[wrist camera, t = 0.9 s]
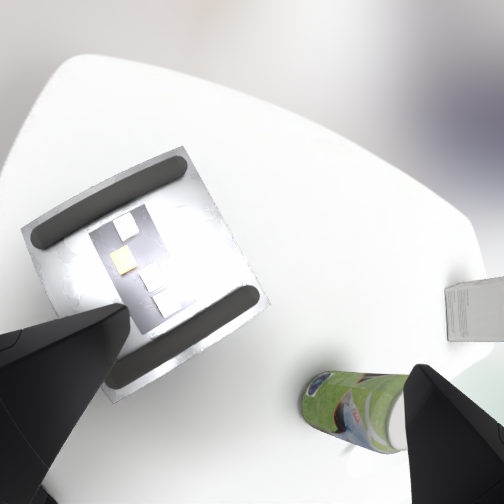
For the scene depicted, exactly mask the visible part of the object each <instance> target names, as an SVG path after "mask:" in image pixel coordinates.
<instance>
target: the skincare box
mask: <svg viewBox="0 0 504 504" xmlns="http://www.w3.org/2000/svg"><path fill="white" fill-rule="evenodd" d="M445 296H446V307H447V322H448V341H453V342H504V277H498V278H490V279H484V280H476V281H469V282H462V283H459V284H456V285H454V286H451V287H449V288H446V289H445Z"/></svg>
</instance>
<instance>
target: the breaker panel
mask: <svg viewBox="0 0 504 504" xmlns="http://www.w3.org/2000/svg"><path fill="white" fill-rule="evenodd" d="M173 156H181V157H183V158H184V159H185V160H186V161H187V164H188V168H187V171H186V173H185V174H184V175H183V176H181V177H179V178H176V179H174V180H172V181H170V182H168V183H165V184H163V185H161V186H159V187H157V188H155V189H153V190H150V191H148V192H146V193H144V194H142V195H140V196H138V197H136V198H134V199H132V200H130V201H128V202H126V203H124V204H122V205H120V206H118V207H116V208H114V209H113V210H111V211H109V212H107V213H105V214H103V215H101V216H99V217H98V218H96V219H94V220H92V221H90V222H89V223H87V224H85V225H83V226H81V227H80V228H78V229H76V230H74V231H73V232H71V233H69V234H68V235H66V236H64V237H62V238H61V239H59V240H57V241H56V242H54V243H52V244H51V245H49V246H48V247H46V248H44V249H37V248H35V247H34V246H33V245H32V243H31V240H30V235H31V232H32V230H33V229H34V228H35V227H36V226H38V225H40V224H41V223H43V222H44V221H46V220H48V219H49V218H51V217H53V216H54V215H56V214H58V213H60V212H61V211H63V210H65V209H66V208H68V207H70V206H72V205H74V204H75V203H77V202H79V201H81V200H83V199H84V198H86V197H88V196H90V195H92V194H94V193H96V192H98V191H100V190H102V189H103V188H105V187H107V186H109V185H111V184H113V183H115V182H117V181H120V180H122V179H124V178H126V177H128V176H130V175H132V174H134V173H136V172H138V171H141V170H143V169H145V168H147V167H150V166H152V165H154V164H156V163H159V162H161V161H163V160H166V159H168V158H170V157H173ZM21 231H22V234H23V237H24V240H25V243H26V245H27V248H28V251H29V253H30V256H31V258H32V261H33V263H34V266H35V268H36V271H37V273H38V275H39V278H40V280H41V282H42V284H43V287H44V289H45V291H46V293H47V295H48V297H49V299H50V301H51V303H52V306H53V308H54V310H55V311H56V313H57V315H58V317H59V319H60V318H64V317H67V316H71V315H74V314H78V313H81V312H85V311H88V310H92V309H95V308H99V307H102V306H106V305H109V304H113V303H120V304H123V305H126V306H128V307H129V311H130V326H131V329H130V334H129V336H128V338H127V340H126V342H125V344H124V345H123V347H122V349H121V351H120V353H119V355H118V357H117V359H116V361H115V363H114V364H116V363H117V362H119V361H121V360H123V359H124V358H126V357H128V356H129V355H131V354H133V353H135V352H136V351H138V350H140V349H141V348H143V347H145V346H146V345H148V344H150V343H151V342H153V341H155V340H156V339H158V338H160V337H161V336H163V335H165V334H166V333H168V332H170V331H171V330H173V329H175V328H176V327H178V326H180V325H181V324H183V323H185V322H186V321H188V320H189V319H191V318H193V317H194V316H196V315H198V314H199V313H201V312H202V311H204V310H206V309H207V308H209V307H211V306H212V305H214V304H215V303H217V302H219V301H220V300H222V299H223V298H225V297H227V296H228V295H230V294H231V293H233V292H235V291H236V290H238V289H239V288H241V287H243V286H245V285H252V286H254V287H256V288H257V289H258V291H259V293H260V299H259V302H258V303H257V304H256V305H255V306H253V307H252V308H250V309H249V310H247V311H246V312H244V313H243V314H241V315H240V316H238V317H237V318H235V319H234V320H232V321H231V322H229V323H228V324H226V325H225V326H223V327H221V328H220V329H218V330H217V331H215V332H214V333H212V334H210V335H209V336H207V337H206V338H204V339H203V340H201V341H199V342H198V343H196V344H195V345H193V346H191V347H190V348H188V349H187V350H185V351H183V352H182V353H180V354H178V355H177V356H175V357H174V358H172V359H170V360H169V361H167V362H165V363H164V364H162V365H160V366H159V367H157V368H155V369H154V370H152V371H150V372H149V373H147V374H145V375H144V376H142V377H140V378H138V379H137V380H135V381H133V382H132V383H130V384H128V385H126V386H125V387H123V388H121V389H118V390H114V389H111V388H109V387H108V386H107V385H106V384H105V382H104V381H103V383H102V384H101V388H102V389H103V391H104V392H105V393H106V395H107V396H108V398H109V399H110V400H111V402H112V403H113V404H114V403H116V402H118V401H120V400H121V399H123V398H125V397H127V396H128V395H130V394H132V393H134V392H135V391H137V390H139V389H140V388H142V387H144V386H146V385H147V384H149V383H151V382H152V381H154V380H156V379H157V378H159V377H161V376H162V375H164V374H166V373H167V372H169V371H171V370H172V369H174V368H176V367H177V366H179V365H181V364H182V363H184V362H185V361H187V360H189V359H190V358H192V357H193V356H195V355H197V354H198V353H200V352H201V351H203V350H205V349H206V348H208V347H209V346H211V345H212V344H214V343H215V342H217V341H219V340H220V339H222V338H223V337H225V336H226V335H228V334H229V333H231V332H232V331H234V330H235V329H237V328H238V327H240V326H241V325H243V324H244V323H246V322H247V321H249V320H250V319H252V318H253V317H255V316H256V315H258V314H259V313H261V312H262V311H264V310H265V309H267V308H268V307H269V306H271V303H270V301H269V299H268V298H267V296H266V294H265V292H264V291H263V289H262V287H261V285H260V284H259V282H258V280H257V278H256V276H255V275H254V273H253V271H252V269H251V268H250V266H249V264H248V262H247V260H246V259H245V257H244V255H243V253H242V251H241V250H240V248H239V246H238V244H237V242H236V241H235V239H234V237H233V235H232V234H231V232H230V230H229V228H228V226H227V225H226V223H225V221H224V219H223V217H222V216H221V214H220V212H219V210H218V208H217V207H216V205H215V203H214V201H213V199H212V198H211V196H210V194H209V192H208V190H207V188H206V187H205V185H204V183H203V181H202V179H201V178H200V176H199V174H198V172H197V170H196V169H195V167H194V165H193V163H192V161H191V159H190V158H189V156H188V154H187V152H186V150H185V148H184V147H183V146H181V147H179V148H176V149H174V150H171V151H169V152H166V153H164V154H161V155H159V156H157V157H154V158H152V159H150V160H147V161H145V162H143V163H141V164H138V165H136V166H134V167H132V168H130V169H128V170H125V171H123V172H121V173H119V174H117V175H115V176H113V177H111V178H109V179H107V180H105V181H103V182H101V183H99V184H97V185H95V186H93V187H91V188H89V189H87V190H85V191H84V192H82V193H80V194H78V195H76V196H74V197H73V198H71V199H69V200H67V201H65V202H64V203H62V204H60V205H58V206H57V207H55V208H53V209H52V210H50V211H48V212H47V213H45V214H43V215H42V216H40V217H38V218H37V219H35V220H34V221H32V222H30V223H29V224H27V225H26V226H24V227H23V228H21Z"/></svg>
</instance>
